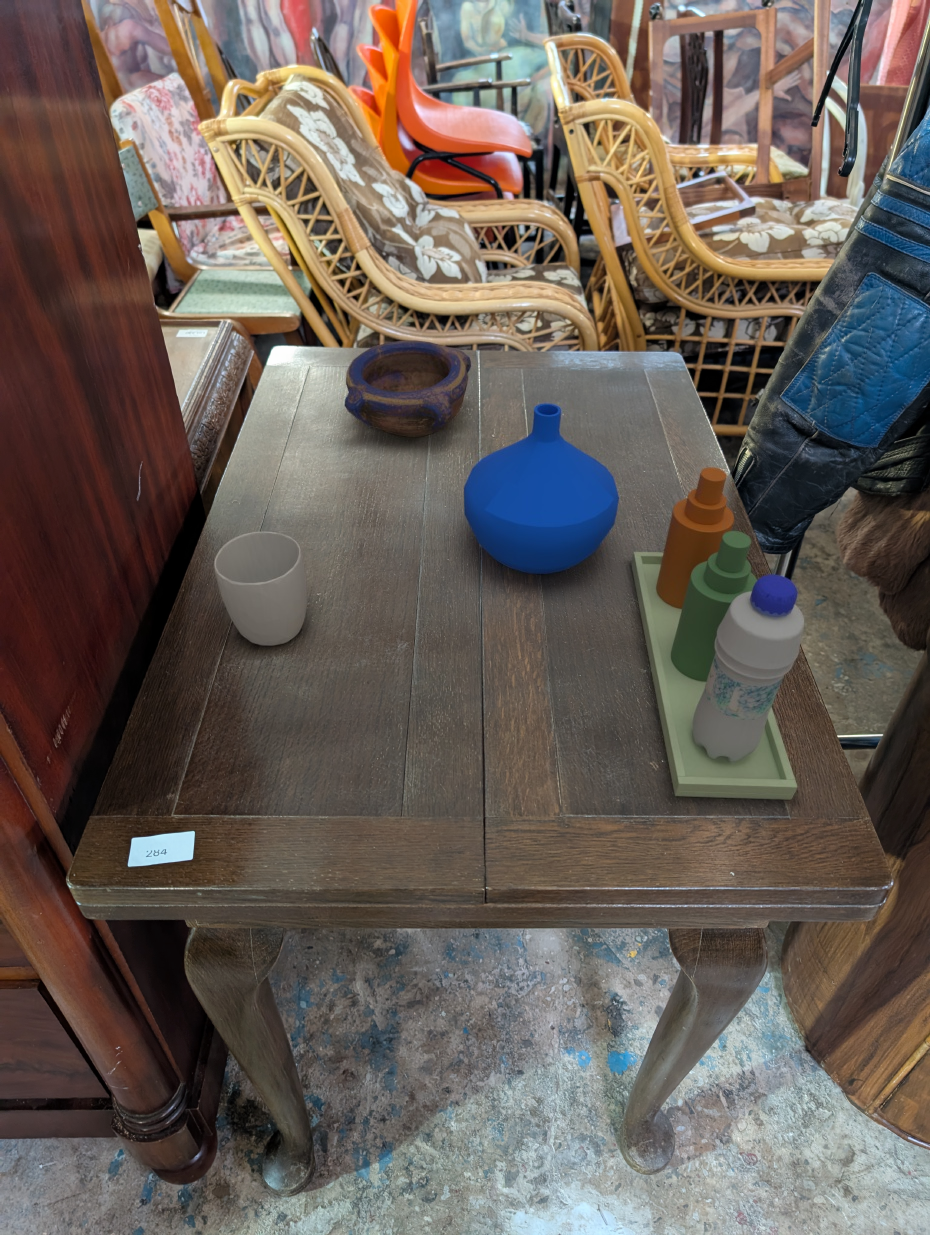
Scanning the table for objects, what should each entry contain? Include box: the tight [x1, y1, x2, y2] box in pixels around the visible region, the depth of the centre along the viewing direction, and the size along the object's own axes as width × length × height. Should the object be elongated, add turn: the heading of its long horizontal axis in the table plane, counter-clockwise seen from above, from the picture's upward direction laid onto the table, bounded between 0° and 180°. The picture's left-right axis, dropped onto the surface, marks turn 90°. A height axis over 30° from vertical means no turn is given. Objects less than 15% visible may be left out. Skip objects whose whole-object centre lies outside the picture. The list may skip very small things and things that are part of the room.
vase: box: [463, 402, 620, 575], centre depth 93 cm, size 18×18×19 cm
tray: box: [630, 551, 798, 801], centre depth 84 cm, size 34×11×2 cm, turn 178°
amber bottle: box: [656, 466, 735, 609], centre depth 87 cm, size 6×6×16 cm
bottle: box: [692, 573, 805, 762], centre depth 69 cm, size 7×7×20 cm
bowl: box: [343, 339, 472, 438], centre depth 118 cm, size 18×18×10 cm
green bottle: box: [671, 530, 758, 682], centre depth 79 cm, size 6×6×16 cm
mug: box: [213, 531, 308, 647], centre depth 87 cm, size 13×9×10 cm
